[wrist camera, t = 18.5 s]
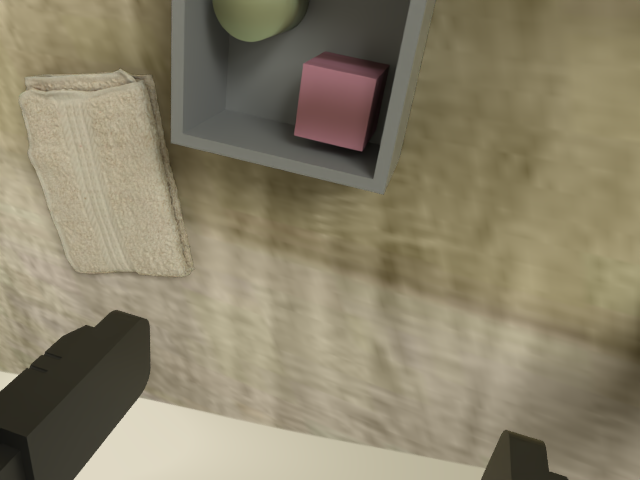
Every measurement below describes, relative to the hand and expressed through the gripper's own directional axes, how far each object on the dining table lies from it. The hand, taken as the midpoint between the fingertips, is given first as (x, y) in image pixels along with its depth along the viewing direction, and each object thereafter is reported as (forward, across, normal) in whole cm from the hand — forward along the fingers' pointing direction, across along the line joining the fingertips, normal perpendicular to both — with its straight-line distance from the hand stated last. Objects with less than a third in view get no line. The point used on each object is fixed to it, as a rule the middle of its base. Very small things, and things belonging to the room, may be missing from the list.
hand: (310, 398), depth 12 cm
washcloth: (+29, +24, +11) cm, 39 cm away
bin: (+28, +8, -2) cm, 29 cm away
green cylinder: (+28, +11, -5) cm, 30 cm away
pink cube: (+28, +5, 0) cm, 28 cm away
